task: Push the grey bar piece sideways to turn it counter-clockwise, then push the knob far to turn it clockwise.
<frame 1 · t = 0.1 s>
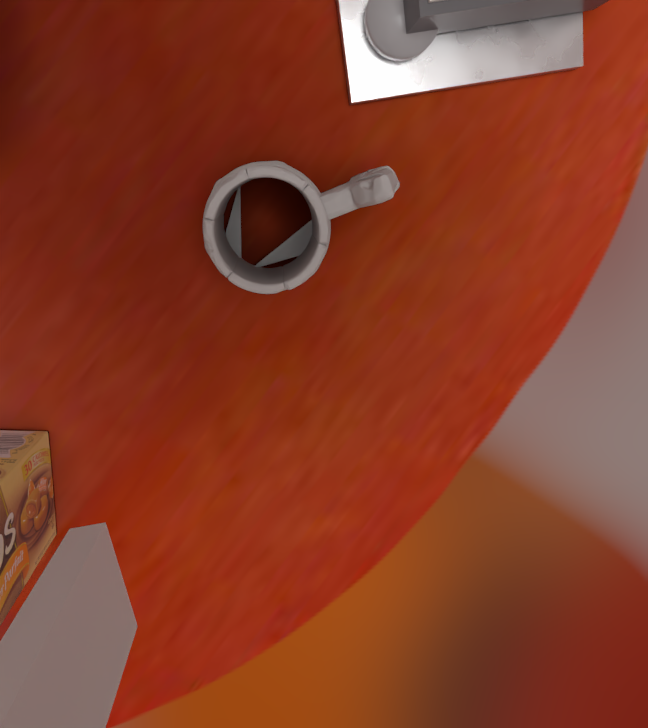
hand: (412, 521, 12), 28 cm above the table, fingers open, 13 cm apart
mug: (296, 212, 37), on the table
candy box: (29, 481, 41), on the table
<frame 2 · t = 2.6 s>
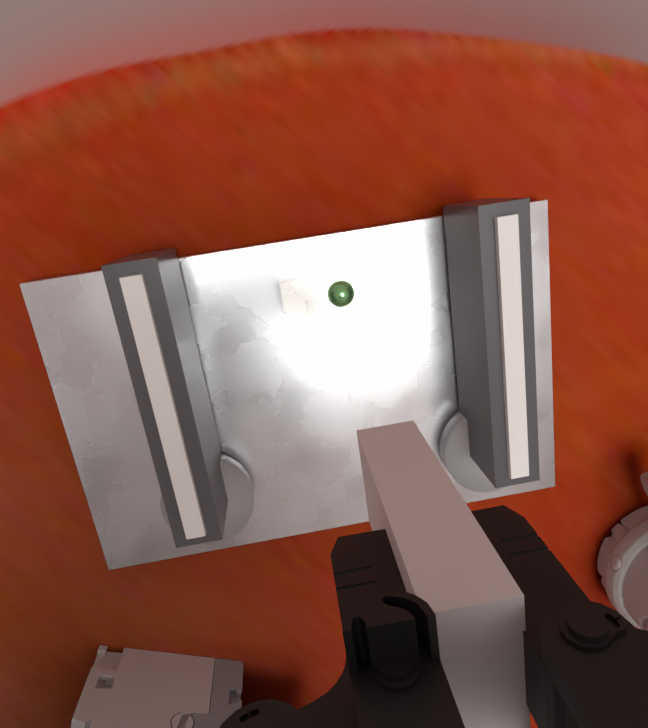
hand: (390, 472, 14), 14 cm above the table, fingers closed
mug: (644, 524, 33), on the table
base plate: (313, 389, 28), on the table
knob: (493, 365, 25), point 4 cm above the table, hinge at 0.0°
circuit breaker: (214, 706, 33), on the table
grey bar piece: (180, 420, 24), point 4 cm above the table, hinge at 0.0°
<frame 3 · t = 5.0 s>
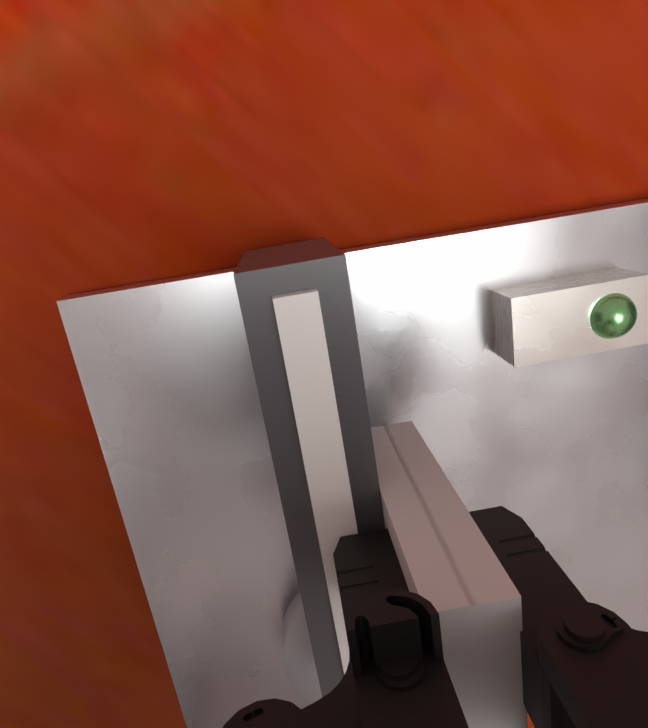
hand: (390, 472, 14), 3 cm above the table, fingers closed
base plate: (513, 460, 18), on the table
grey bar piece: (337, 538, 14), point 4 cm above the table, hinge at 0.4°, touching gripper
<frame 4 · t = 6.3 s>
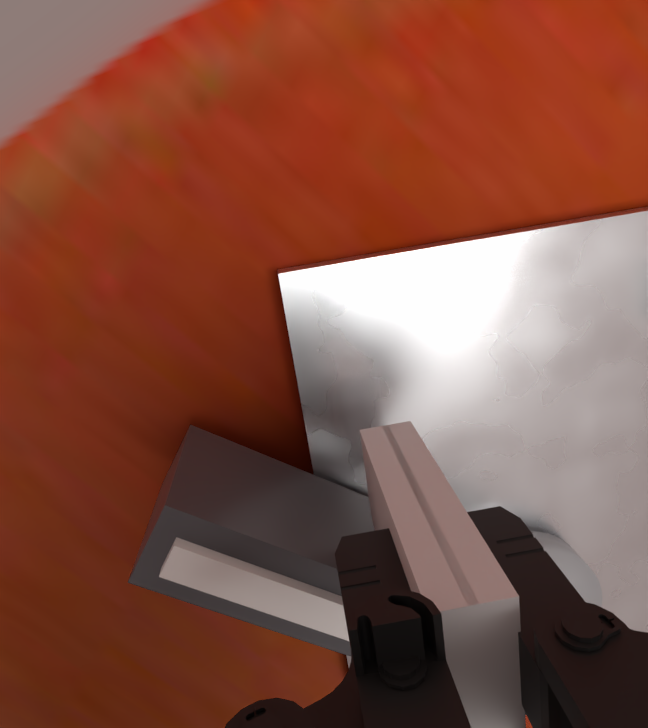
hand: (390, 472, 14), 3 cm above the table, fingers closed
grey bar piece: (411, 588, 15), point 4 cm above the table, hinge at 54.2°, touching gripper
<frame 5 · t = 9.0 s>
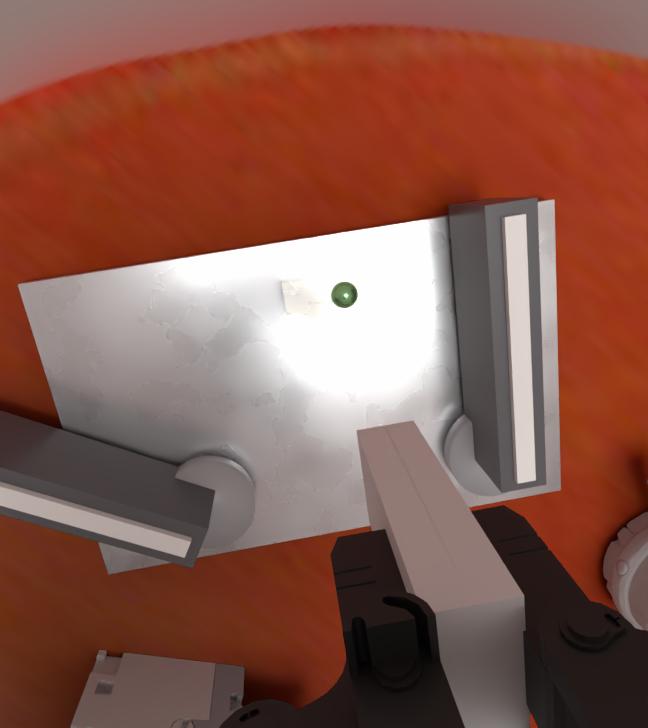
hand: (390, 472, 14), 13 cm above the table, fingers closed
base plate: (316, 391, 27), on the table
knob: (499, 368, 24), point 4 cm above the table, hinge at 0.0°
circuit breaker: (214, 712, 33), on the table
grey bar piece: (97, 489, 24), point 4 cm above the table, hinge at 58.9°
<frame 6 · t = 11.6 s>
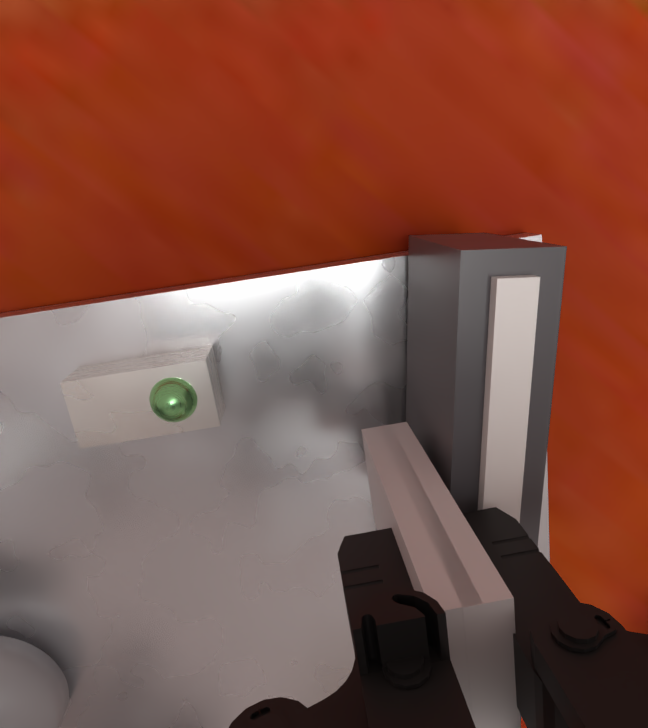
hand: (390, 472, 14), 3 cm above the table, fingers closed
base plate: (166, 527, 18), on the table
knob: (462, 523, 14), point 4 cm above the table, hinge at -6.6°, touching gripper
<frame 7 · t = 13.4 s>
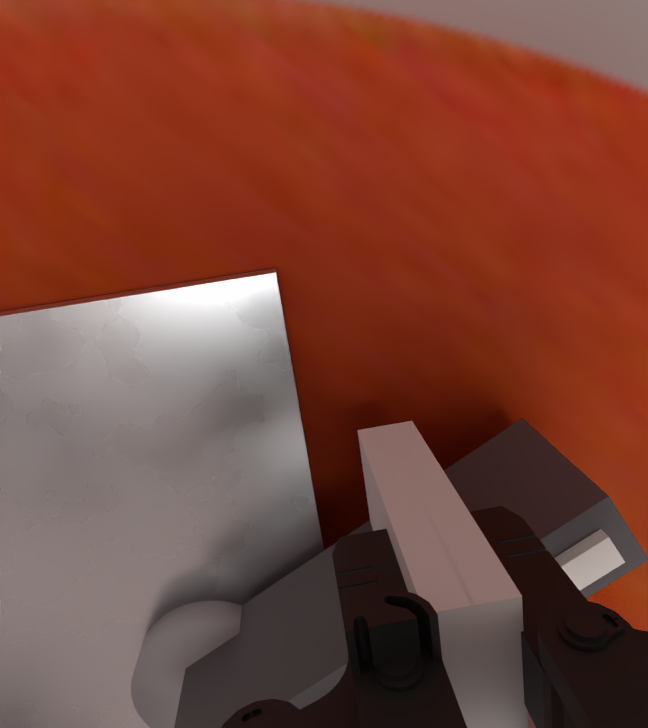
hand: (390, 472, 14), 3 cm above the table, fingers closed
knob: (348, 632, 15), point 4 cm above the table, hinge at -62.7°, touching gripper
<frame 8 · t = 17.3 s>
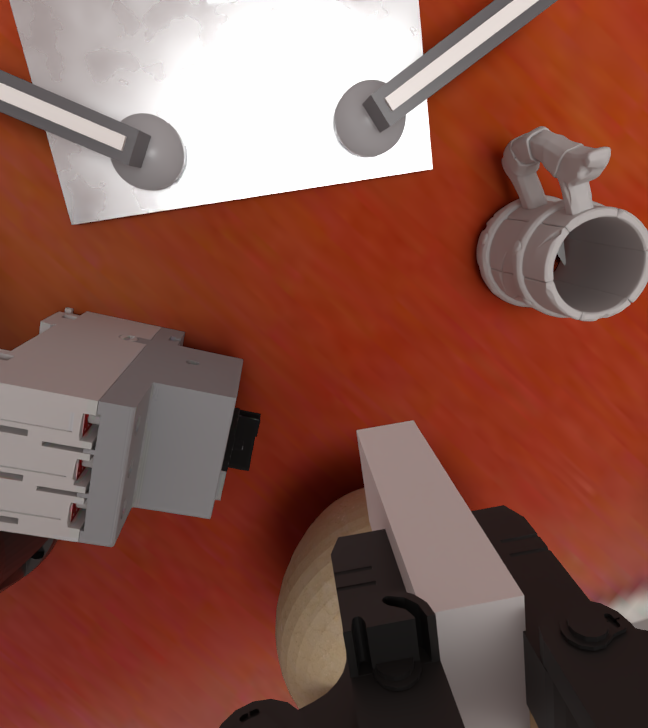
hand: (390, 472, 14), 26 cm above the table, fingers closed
mug: (514, 222, 40), on the table
base plate: (233, 74, 35), on the table
vase: (375, 528, 46), on the table
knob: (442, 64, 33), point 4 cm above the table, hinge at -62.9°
circuit breaker: (162, 376, 41), on the table
grey bar piece: (57, 115, 32), point 4 cm above the table, hinge at 58.9°
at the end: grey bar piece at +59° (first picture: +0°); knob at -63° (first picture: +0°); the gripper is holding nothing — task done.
